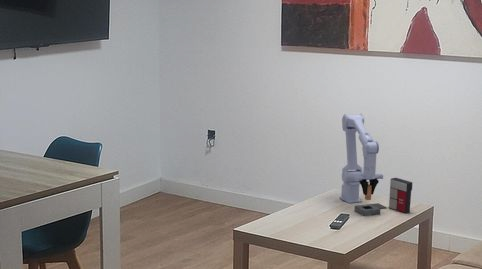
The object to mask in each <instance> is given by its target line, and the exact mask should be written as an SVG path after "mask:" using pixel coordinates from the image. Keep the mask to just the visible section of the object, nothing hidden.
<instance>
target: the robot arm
mask: <svg viewBox="0 0 482 269" xmlns="http://www.w3.org/2000/svg"><path fill="white" fill-rule="evenodd" d="M341 124H342V125H341V126H342V127H341V128H342V131H343V132H345V144H346V146H345V147H346V159H347V160H346V162H347V164H346V165H345V166H344V167H343V168H342V170H341V172H342V173H341V180H342V184H341V192H340V193H341V194H340V196H339V199H341V200H343V201H345V202H346V203H348V204H351V203H361V202H362V201H363V200H362V199H360V196H359V195H360V186H361V189H362V193H363V195H364V196H365V195H367V187H368V184H370V185H372V191H371V196H372V195H374V193H375V189H376V187H377V185H378V184H379V179H381V180H383V179H384V174H382V173H376V169H377V154H378V153H379V150H380V146H379V143H378V141H377V140H374V139H373V137H372V135H371V134H370V132H369V131H367V130H366V128H365V116H364V114H363V113H348V114H346V113H345V114H343V116H342V119H341ZM356 133H358V140H359V142H360V143H361V145H362V148H361V150H362V156H363V167H362V166H360V165H359V164H358V153H357V136H356Z"/></svg>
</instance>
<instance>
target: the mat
mask: <svg viewBox="0 0 482 269" xmlns="http://www.w3.org/2000/svg"><path fill="white" fill-rule="evenodd" d="M370 204H371V205H373V206H375V207H377V208H379V209H381V210H382V209H383V210H384V209H387V208H388V207H387V206H386V205H385V206H384V205H383V204H381V203H379V202H377V203H370ZM365 205H367V203H366V204H365Z"/></svg>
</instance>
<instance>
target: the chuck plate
mask: <svg viewBox="0 0 482 269" xmlns="http://www.w3.org/2000/svg"><path fill="white" fill-rule="evenodd" d="M366 204H367V203H366ZM366 204H360V205H359V204H358V205H354V212H356V213H357V214H359V215H361V216H362V217H369V216H376V215H381V210H382V209H379V208H377V207H375V206H373V205H371V204H372V203H369V204H367V205H366Z"/></svg>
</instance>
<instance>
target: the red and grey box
mask: <svg viewBox="0 0 482 269" xmlns="http://www.w3.org/2000/svg"><path fill="white" fill-rule="evenodd" d="M389 182H390V183H389V184H390V185H389V202H388V208H389V209H391V210H395V211H398V212H400V213H403V214H408V213H410V211H411V201H412V200H411V199H412V198H411V196H412V190H413V182H412V181H411V180H410V181H409V180H405V179H402V178H399V177H392V178H390V181H389Z"/></svg>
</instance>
